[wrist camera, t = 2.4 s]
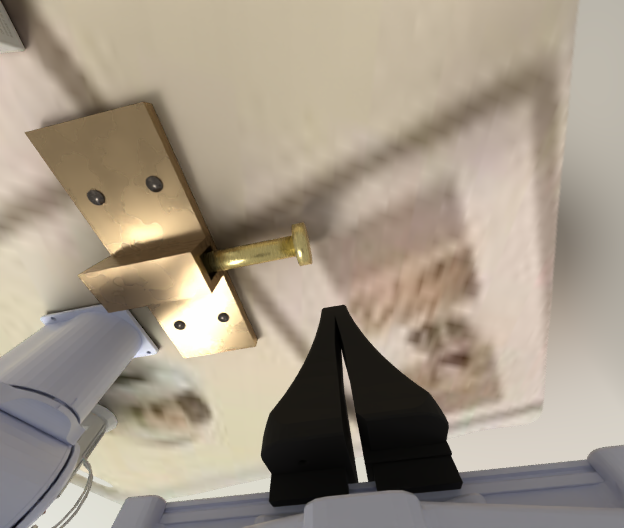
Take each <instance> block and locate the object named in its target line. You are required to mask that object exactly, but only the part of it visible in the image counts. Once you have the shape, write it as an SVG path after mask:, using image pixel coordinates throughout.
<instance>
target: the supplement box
mask: <svg viewBox="0 0 624 528" xmlns="http://www.w3.org/2000/svg"><path fill="white" fill-rule="evenodd" d="M24 50H25V48H24V46H23V44H22V42H21V40H20V38H19V36H18V34H17V32H16V30H15V28H14V26H13V24H12V22H11V20H10V18H9V16H8V14H7V12H6V10H5V8H4V6H3V4H2V3H1V1H0V53H11V52H20V51H24Z"/></svg>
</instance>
